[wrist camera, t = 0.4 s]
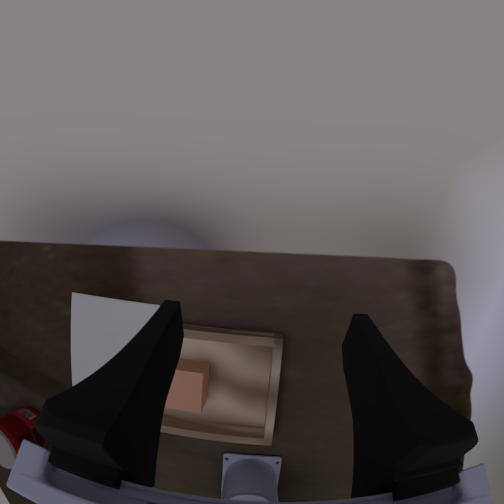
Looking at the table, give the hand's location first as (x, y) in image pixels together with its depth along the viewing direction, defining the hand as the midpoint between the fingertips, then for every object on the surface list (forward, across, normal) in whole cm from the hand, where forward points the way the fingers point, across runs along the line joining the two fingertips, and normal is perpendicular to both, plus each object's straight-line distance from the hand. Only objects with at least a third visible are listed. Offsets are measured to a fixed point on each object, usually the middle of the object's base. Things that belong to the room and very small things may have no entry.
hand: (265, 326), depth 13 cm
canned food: (+4, +36, +38) cm, 53 cm away
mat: (+14, +19, +25) cm, 34 cm away
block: (+13, +8, +25) cm, 29 cm away
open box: (+14, +5, +25) cm, 29 cm away
